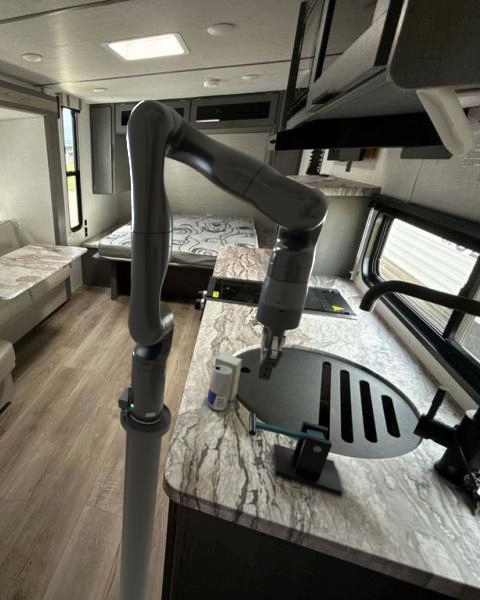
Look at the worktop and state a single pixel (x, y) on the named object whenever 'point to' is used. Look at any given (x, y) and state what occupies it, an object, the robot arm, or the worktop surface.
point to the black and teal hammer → (279, 429)
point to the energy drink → (219, 386)
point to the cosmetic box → (236, 367)
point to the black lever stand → (308, 461)
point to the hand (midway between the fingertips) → (263, 376)
